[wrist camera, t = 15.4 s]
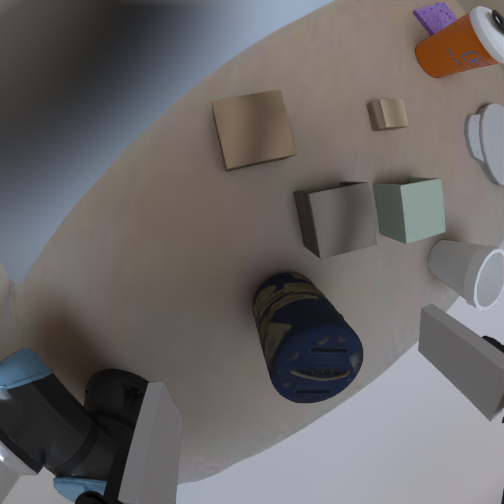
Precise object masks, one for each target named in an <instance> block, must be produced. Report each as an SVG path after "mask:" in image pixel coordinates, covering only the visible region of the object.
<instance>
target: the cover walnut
mask: <svg viewBox="0 0 504 504" xmlns="http://www.w3.org/2000/svg"><path fill="white" fill-rule="evenodd" d="M212 110H213V117H214V121H215V126H216V130H217V134H218V139H219V143H220V147H221V151H222V156H223V160H224V164H225V168H226V171H231V170H235V169H239V168H244V167H248V166H253V165H257V164H262V163H267V162H272V161H277V160H282V159H285V158H288V157H291V156H293V155H296V150H295V145H294V141H293V137H292V133H291V129H290V125H289V121H288V117H287V113H286V109H285V105H284V101H283V97H282V94H281V90H276V91H269V92H262V93H256V94H251V95H245V96H240V97H235V98H230V99H225V100H220V101H216V102H212Z"/></svg>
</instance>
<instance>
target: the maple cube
mask: <svg viewBox="0 0 504 504" xmlns="http://www.w3.org/2000/svg"><path fill="white" fill-rule="evenodd" d="M367 109H368V113H369V117H370V122H371V126H372V131H379V130H395V129H399V128H404V127H408V121H407V117H406V112H405V108H404V104H403V100H402V99H379V100H377V101H374V102H372V103H370V104H368V105H367Z"/></svg>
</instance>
